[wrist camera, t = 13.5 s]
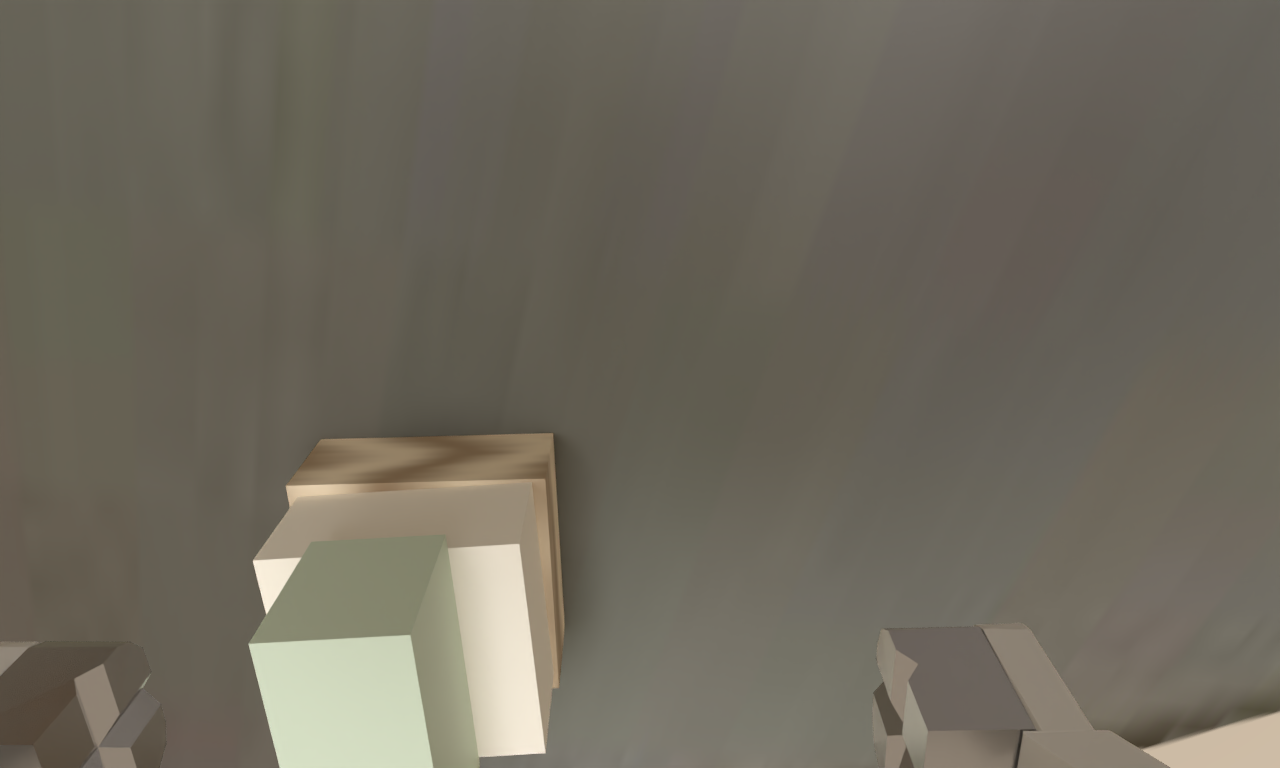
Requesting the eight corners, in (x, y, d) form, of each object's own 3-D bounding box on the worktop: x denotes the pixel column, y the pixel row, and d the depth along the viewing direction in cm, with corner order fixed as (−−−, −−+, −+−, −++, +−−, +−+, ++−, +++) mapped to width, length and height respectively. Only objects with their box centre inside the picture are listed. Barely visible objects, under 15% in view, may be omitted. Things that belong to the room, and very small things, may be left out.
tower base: (553, 430, 43) (545, 478, 38) (565, 623, 47) (558, 687, 42) (322, 437, 43) (285, 485, 38) (353, 629, 46) (324, 695, 42)
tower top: (531, 482, 38) (519, 543, 33) (553, 673, 42) (545, 753, 37) (297, 496, 38) (252, 560, 33) (340, 686, 42) (304, 767, 37)
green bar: (445, 534, 33) (410, 634, 28) (479, 764, 37) (454, 893, 32) (311, 541, 33) (248, 643, 28) (359, 771, 37) (313, 900, 32)
